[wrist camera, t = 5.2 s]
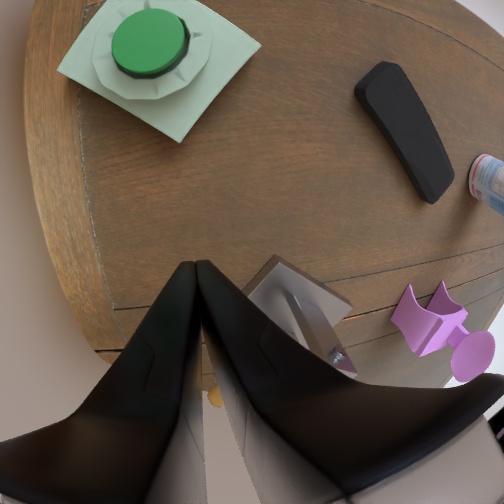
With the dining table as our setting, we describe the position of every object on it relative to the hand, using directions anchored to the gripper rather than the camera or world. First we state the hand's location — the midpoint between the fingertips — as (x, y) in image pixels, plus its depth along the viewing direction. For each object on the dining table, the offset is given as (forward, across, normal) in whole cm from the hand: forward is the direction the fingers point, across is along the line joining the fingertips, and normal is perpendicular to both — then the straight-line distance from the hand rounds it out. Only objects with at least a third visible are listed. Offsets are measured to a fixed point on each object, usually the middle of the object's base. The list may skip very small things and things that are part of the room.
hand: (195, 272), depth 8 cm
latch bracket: (+13, -9, +15) cm, 22 cm away
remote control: (+13, -19, -3) cm, 23 cm away
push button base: (+13, +2, -8) cm, 15 cm away
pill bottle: (+13, -34, -1) cm, 36 cm away
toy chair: (+13, -29, +18) cm, 37 cm away
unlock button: (+9, +2, -8) cm, 12 cm away
